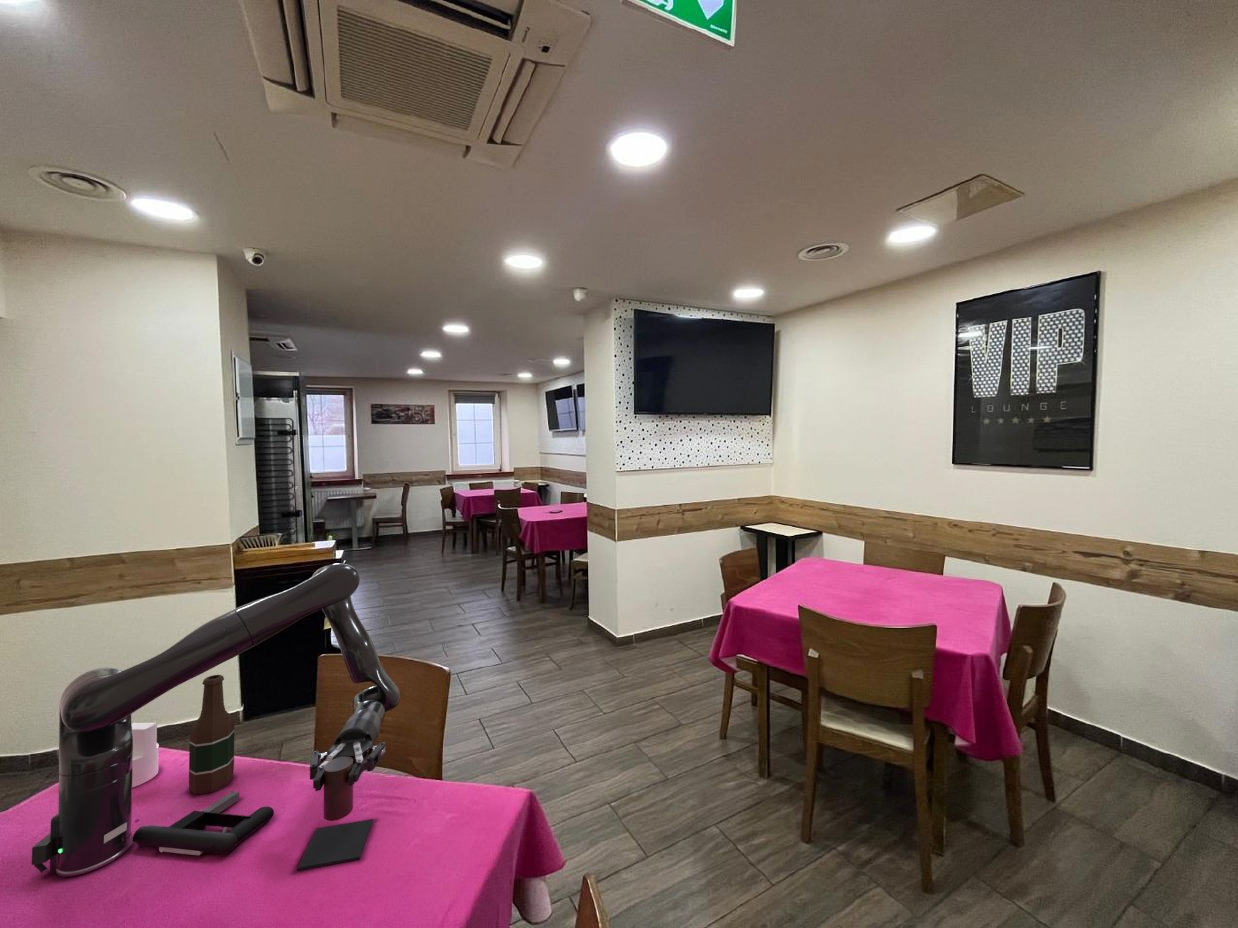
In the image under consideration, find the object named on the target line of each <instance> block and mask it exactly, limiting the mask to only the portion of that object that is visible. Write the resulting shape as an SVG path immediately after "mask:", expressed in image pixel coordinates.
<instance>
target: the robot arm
mask: <svg viewBox="0 0 1238 928" xmlns="http://www.w3.org/2000/svg"><path fill="white" fill-rule="evenodd" d="M360 583H361V578H360V574H359V571H358V570H357V569H356V568H355V567H354V566H352V565H350V564H348V563H342V562H338V563H337V562H336V563H332V564H331V563H330V564H327V565H324V566H322V567H319V568H318V569H316V571H315V572H314V573H313V574H312V576H311V577H310V578H308V579H306V580H304V581H302V582H300V583H299V584H297V585H294V586H293V587H291V588H289V589H285V590H283V591H281V592H278V593H274V594H271V595H268V596H265V597H262V598H259V599H255V600H253V601H251V602H249V603H245V604H243V605H240V606H238V607H236V608H234V609H232V610H229V611H227V612H225V613H223V614H221V615H218V616H217V617H214V618H212V619H211V620H209V621H207V622H205V623H203V624H202V625H200V626H198V627H197V628H195V629H194V630H193V631H191V632H190V633H188V634H187V635H185V636H184V637H183V638H181V639H179V640H178V641H177V642H176V643H174V644H172V645H171V646H170V647H169V648H167V649H165V650H164V651H162V652H161V653H159V654H157V655H155V656H153V657H151V658H148V659H147V660H145V661H142V662H140V663H138V664H135V665H133V666H131V667H129V668H126V669H124V670H122V669H119V668H115V667H99V668H95V669H91V670H89V671H86V672H84V673H82V674H80V675H79V676H77V677H76V678H74V679H73V680H72V681H71V682H70V683H69V684H68V685H67V686H66V687H65V689H64V690H63V692H62V693H61V696H60V701H59V711H58V712H59V713H58V716H59V717H58V719H59V720H58V803H57V804H58V807H57V811H58V812H57V813H56V814H55V815H54V816H52V817H51V819H50V832H49V833H48V834H47V835H46V836H44V837H43V838H41V840H39V841H38V842H37V843H36V844H35V845H33V846H32V847H31V865H32V866H34V867H35V868H36V869H37V870H38V871H39V872H40V873H44V872H46V871H47V870H48V867H47V866H46V865H45V863H47V862H48V861H49V875H53V874H56V875H57V876H59V877H64V878H66V877H68V878H69V877H75V876H80V875H84V874H87V873H90V872H92V871H93V872H94V871H95V870H98V869H100V868H102V867H104V866H106V865H108V864H110V863H112V862H113V861H115V860H117V859H118V858H119V857H121V856H122V855H123V854H125V853H126V852H127V851H128V850H129V848H130V847H131V846H132V844H133V835H132V822H133V821H132V820H133V819H132V817H133V788H132V770H133V767H132V766H133V734H132V723H133V722H132V715H133V714H134V713H135V712H137V711H138V710H140V709H142V708H143V707H144V706H146V705H148V704H149V703H151V702H153V701H154V700H156V699H158V698H159V697H160V696H163V695H164V694H166V693H167V692H170V691H171V690H173V689H174V688H176V687H178V686H180V685H182V684H184V683H186V682H188V681H190V680H192V679H194V678H196V677H198V676H200V675H202V674H205V673H207V671H210V670H212V669H213V668H215V667H217V666H219V665H221V664H224V663H225V662H227V661H230V660H232V659H233V658H236V657H237V656H239V655H241V654H243V653H245V652H247V651H249V650H251V649H253V648H254V647H256V646H258V645H260V644H261V643H263V642H265V641H267V640H268V639H270V638H272V637H274V636H276V635H277V634H279V633H280V632H282V631H284V630H285V629H287V628H289V627H290V626H292V625H293V624H295V623H297V622H298V621H300V620H302V619H304V618H305V617H307V616H309V615H312V614H314V613H317V612H318V611H321V610H322V612H323V613H324V615H325V617H326V619H327V621H328V623H329V625H330V628H331V630H332V632H333V635H334V637H335V639H336V642H337V644H338V647H339V650H340V653H341V655H342V658H343V661H344V664H345V666H346V669H347V673H348V675H349V677H350V680H351V682H353V683H354V684H362V683H363V684H364V683H373V686H370V687H368V688H365V689H363V690H361V691H359V692H358V693H356V694H355V696H354V697H353V699H352V713H351V715H350V716H349V718H348V719H347V720H346V721H345V723H344V725H343V726H342V728H341V729H340V732H339V733H338V735H337V737H336V738H335V741H334V743H333V745H332V746H331V747H330V748H329V749H328V750H327V751H326V752H323V753H321V752H320V751H319V750H314V751H312V752H311V756H310V761H309V763H310V764H309V780H311V781H312V783H313V784H312V788H313V790H315V792H319V791H321V790H322V789H323V787H324V766H325V765H326V764H327V763H328V762H329V761H331V760H333V759H336V758H339V757H351V758H352V759H353V767H352V769H351V771H350V773H349V776H348V786H353V787H354V784H355V783H357V782H358V781H359V780H360V777H361V775H362V774H363V773H364V772H365V771H366V772H372V771H374V770H375V768H376V767H377V766H378V765H379V764H380V762H381V761H382V760H383V759H384V757H385V756H386V741H381V742H379V743H378V744H377V745H375V743H376V742H377V739H378V737H379V735H380V730H381V727H382V725H383V722H384V719H385V716H386V713H387V712H390V711H392V710H395V708H397V707H398V705H399V704H400V700H401V692H400V689H399V687H398V685H397V683H396V682H395V681H394V680H393V678H392V677H391V676H390V674H388V672H387V671H386V669H385V668H384V667H383V665H382V663H381V660H380V657H379V655H378V653H377V649H376V647H375V645H374V642H373V640H372V638H371V636H370V634H369V632H368V631H367V629H366V628H365V625H363V623H362V622H361V620H360V618H359V617H358V613H357V612H356V610H355V606H354V604H353V599H352V596H353V595H354V593H355V592H356V591H357V589H358V587H359V585H360Z"/></svg>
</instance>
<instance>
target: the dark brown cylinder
mask: <svg viewBox="0 0 1238 928" xmlns="http://www.w3.org/2000/svg"><path fill="white" fill-rule="evenodd" d="M352 767H353V759H352V758H351V757H339V758H336V759H333V760H331V761H329V762H328V763H327V764H326V765H325V766H324V784H323V819H324V820H326V821H327V822H328V821H329V822H334V821H339V820H341V819H344V818H345V817H347V816H349V815H350V814H351V813H352V812H353V810H354V785H353V786H348V776H349V773H350V771H351V769H352Z"/></svg>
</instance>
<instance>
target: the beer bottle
mask: <svg viewBox="0 0 1238 928" xmlns="http://www.w3.org/2000/svg"><path fill="white" fill-rule="evenodd" d="M224 680H225V677H224V675H222V674H213V675H210V676H207V677H205V678H204V679H203V681H202V685H203V693H202V705H201V711H200V715H199V717H198V719H197V720H196V721H195V722H194V723H193V726H192V728H191V731H190V733H189V746H188V749H189V750H188V752H189V753H188V754H189V755H188V756H189V758H188V789H189V792H191V793H192V794H194V795H195V796H199V795H204V794H212V793H213V792H216V791H218V790H220V789H222V788H224V787H226V786H228V784H229V783H230V781H231V780H232V779H233V777H234V772H235V721H234V719H233V717H232V715H231V714H230V713H229V712H228V711H227V710H226V707H225V700H224V684H223V683H224V682H223V681H224Z"/></svg>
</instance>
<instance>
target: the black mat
mask: <svg viewBox="0 0 1238 928" xmlns="http://www.w3.org/2000/svg"><path fill="white" fill-rule="evenodd" d="M373 823H374V819H373V818H370V819H365V820H364V819H363V820H359V821H352V822H347V823H346V822H345V823H340V824H333V825H328V826H322V827H317V828H316V830H315V831H314V834H313V836H312V838H311V840H310V841H309V844H308V845H307V848H306V849H305V851H304V854H303V855H302V858H301V860H300V862H299V863H298V866H297V868H296V871H303V870H309V869H314V868H320V867H324V866H325V867H327V866H331V865H336V864H343V863H347V862H353V861H358V860H360V859H361V858H362V857H361V856H362V853H363V851H364V848H365V845H366V843H367V839H368V837H369V834H370V830H371V828H372V825H373Z"/></svg>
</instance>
